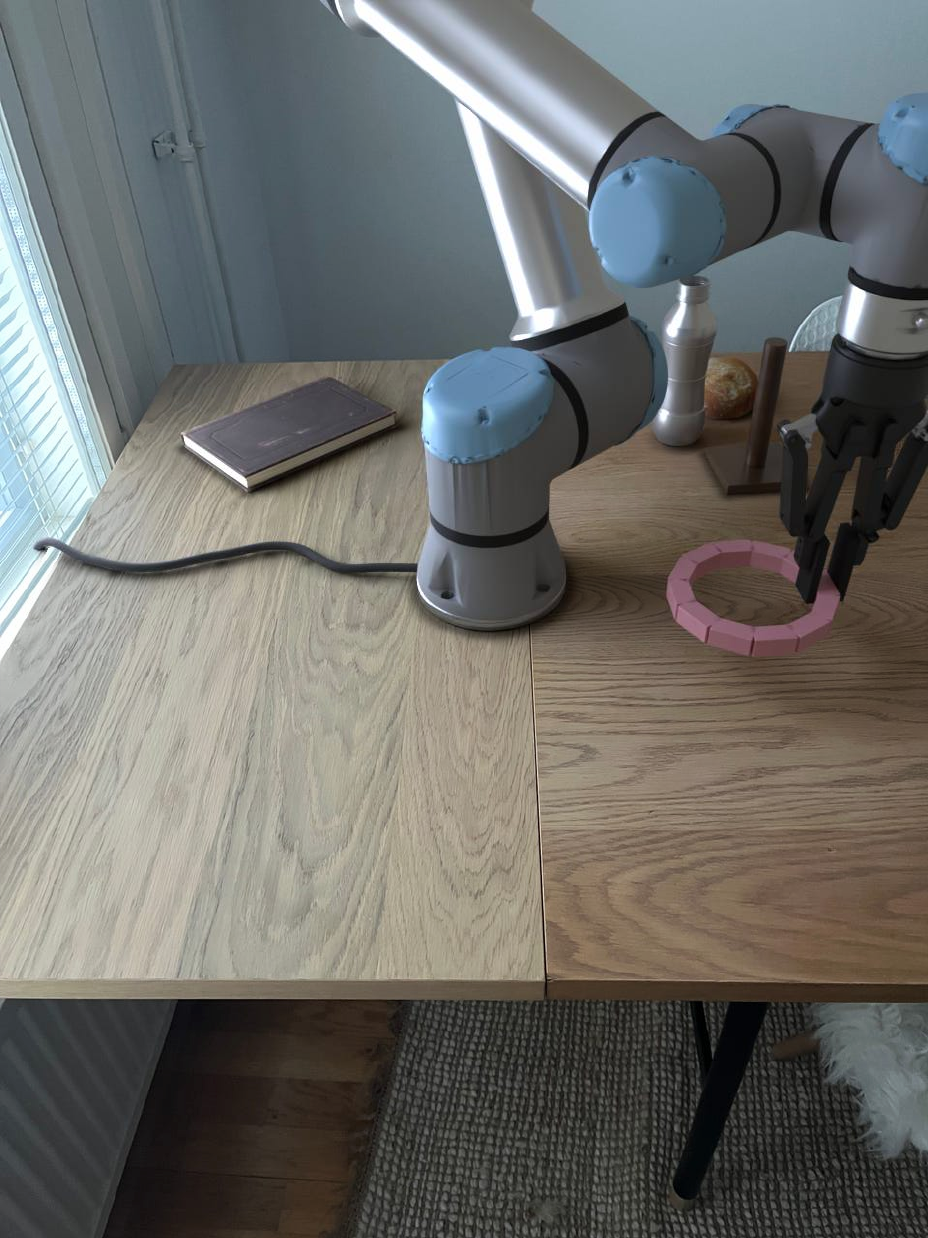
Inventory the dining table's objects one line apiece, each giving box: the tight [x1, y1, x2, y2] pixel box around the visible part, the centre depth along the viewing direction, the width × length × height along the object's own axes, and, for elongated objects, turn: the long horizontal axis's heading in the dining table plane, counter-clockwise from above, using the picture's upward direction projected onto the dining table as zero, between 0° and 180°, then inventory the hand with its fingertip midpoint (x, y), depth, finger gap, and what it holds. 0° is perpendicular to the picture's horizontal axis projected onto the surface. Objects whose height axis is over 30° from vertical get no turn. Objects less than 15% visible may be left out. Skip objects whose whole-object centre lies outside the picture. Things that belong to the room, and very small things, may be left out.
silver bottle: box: [651, 274, 718, 447], centre depth 113 cm, size 6×7×20 cm
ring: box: [666, 539, 840, 658], centre depth 83 cm, size 14×14×2 cm
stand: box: [705, 336, 789, 496], centre depth 108 cm, size 9×9×16 cm
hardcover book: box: [180, 375, 399, 493], centre depth 123 cm, size 16×23×2 cm
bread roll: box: [704, 356, 758, 420], centre depth 125 cm, size 10×10×8 cm
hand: (819, 592), depth 84 cm, fingers closed on ring, 2 cm apart
